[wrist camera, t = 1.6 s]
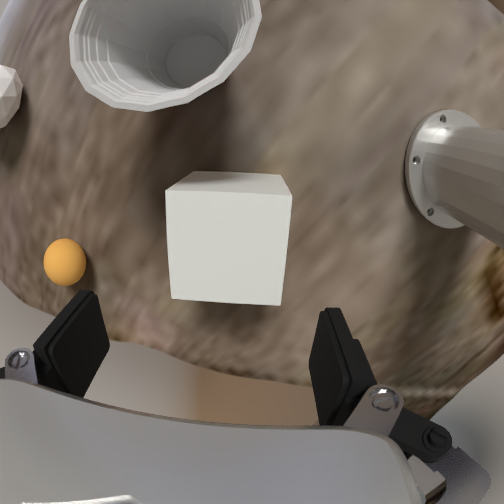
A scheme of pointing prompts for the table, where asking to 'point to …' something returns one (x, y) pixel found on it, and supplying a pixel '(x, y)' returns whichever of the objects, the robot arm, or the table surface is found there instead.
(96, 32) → the plastic cup
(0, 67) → the geometric ball
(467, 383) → the table surface
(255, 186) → the white angular block
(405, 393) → the table surface
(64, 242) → the ball
